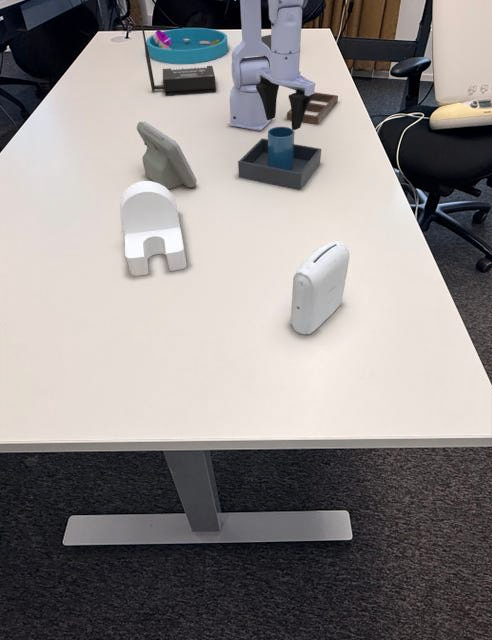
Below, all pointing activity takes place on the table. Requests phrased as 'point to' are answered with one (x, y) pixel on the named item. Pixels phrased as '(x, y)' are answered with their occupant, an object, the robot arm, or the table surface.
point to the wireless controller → (183, 78)
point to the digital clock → (164, 159)
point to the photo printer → (319, 286)
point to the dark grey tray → (258, 169)
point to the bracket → (151, 226)
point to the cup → (281, 148)
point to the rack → (317, 108)
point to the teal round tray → (187, 45)
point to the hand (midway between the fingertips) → (283, 123)
